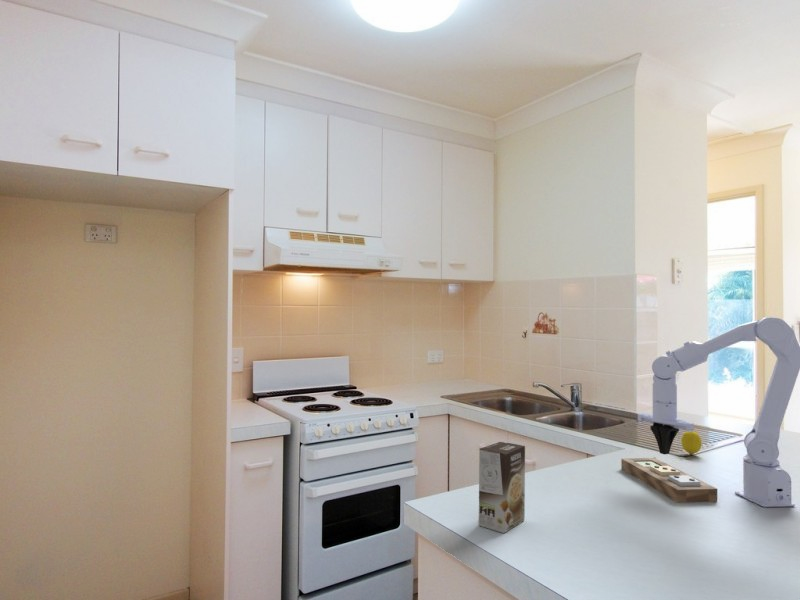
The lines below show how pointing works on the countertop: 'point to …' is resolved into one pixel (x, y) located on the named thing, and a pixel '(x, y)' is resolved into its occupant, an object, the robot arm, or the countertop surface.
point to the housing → (668, 482)
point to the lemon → (691, 442)
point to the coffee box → (501, 486)
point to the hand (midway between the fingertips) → (664, 453)
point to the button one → (647, 463)
